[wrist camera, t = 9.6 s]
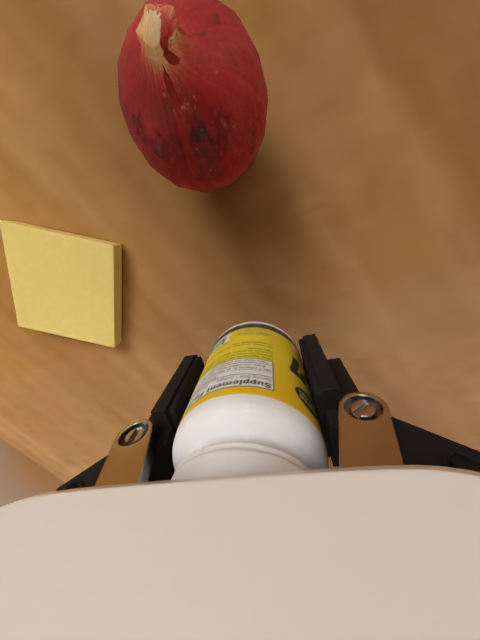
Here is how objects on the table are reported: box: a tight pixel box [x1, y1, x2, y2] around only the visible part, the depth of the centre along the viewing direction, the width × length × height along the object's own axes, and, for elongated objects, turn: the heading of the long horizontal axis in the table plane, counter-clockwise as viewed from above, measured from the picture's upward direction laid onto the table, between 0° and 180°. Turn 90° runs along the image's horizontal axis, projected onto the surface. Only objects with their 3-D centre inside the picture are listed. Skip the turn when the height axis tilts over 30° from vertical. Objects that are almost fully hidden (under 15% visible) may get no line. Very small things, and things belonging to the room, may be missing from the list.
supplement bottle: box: [171, 322, 328, 480], centre depth 9 cm, size 5×5×8 cm
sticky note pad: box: [0, 220, 122, 348], centre depth 17 cm, size 8×8×1 cm
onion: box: [118, 0, 268, 192], centre depth 10 cm, size 6×6×8 cm
